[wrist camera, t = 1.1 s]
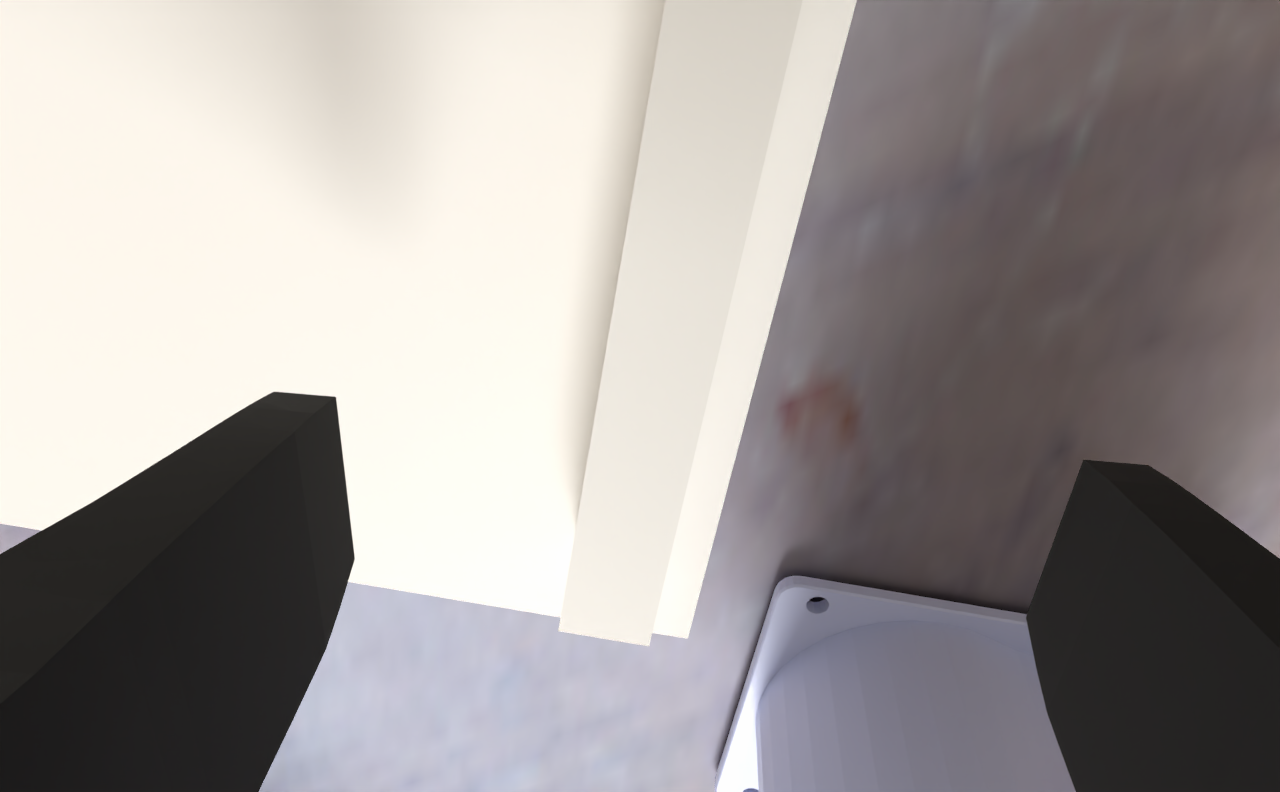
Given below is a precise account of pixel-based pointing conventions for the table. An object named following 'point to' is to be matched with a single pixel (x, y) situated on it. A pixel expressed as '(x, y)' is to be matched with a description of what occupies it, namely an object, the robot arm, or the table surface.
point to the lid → (414, 266)
